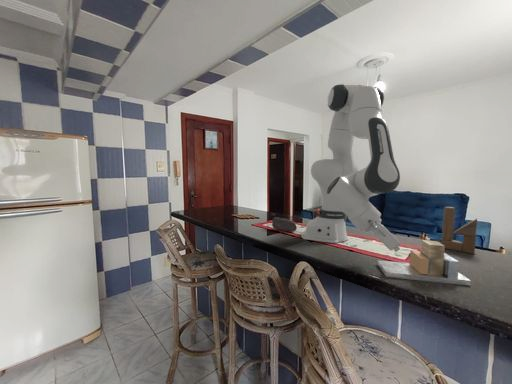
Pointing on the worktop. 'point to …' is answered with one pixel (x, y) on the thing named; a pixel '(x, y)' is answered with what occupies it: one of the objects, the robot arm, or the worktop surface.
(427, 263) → the block
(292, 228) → the perforated stone tool
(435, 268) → the beech block
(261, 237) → the worktop surface
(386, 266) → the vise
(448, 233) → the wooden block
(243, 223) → the worktop surface
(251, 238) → the worktop surface
